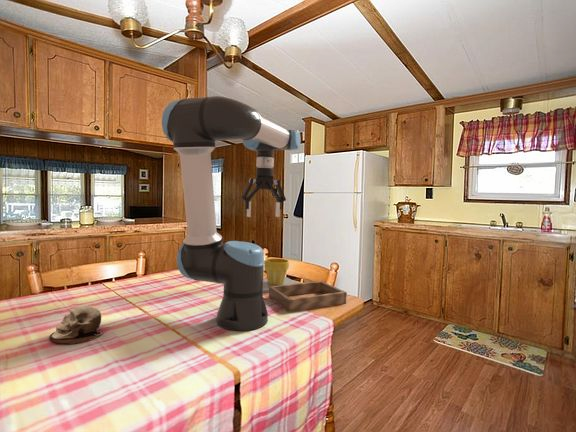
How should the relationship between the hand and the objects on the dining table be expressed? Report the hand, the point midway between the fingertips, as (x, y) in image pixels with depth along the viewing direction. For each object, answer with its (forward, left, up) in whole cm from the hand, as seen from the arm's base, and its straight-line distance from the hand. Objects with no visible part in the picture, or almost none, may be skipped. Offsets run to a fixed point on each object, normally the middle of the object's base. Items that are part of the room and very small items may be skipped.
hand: (263, 216), depth 136 cm
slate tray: (+3, -8, -29) cm, 30 cm away
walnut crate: (+6, -29, -29) cm, 41 cm away
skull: (-64, -31, -29) cm, 77 cm away
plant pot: (+3, -8, -28) cm, 29 cm away
